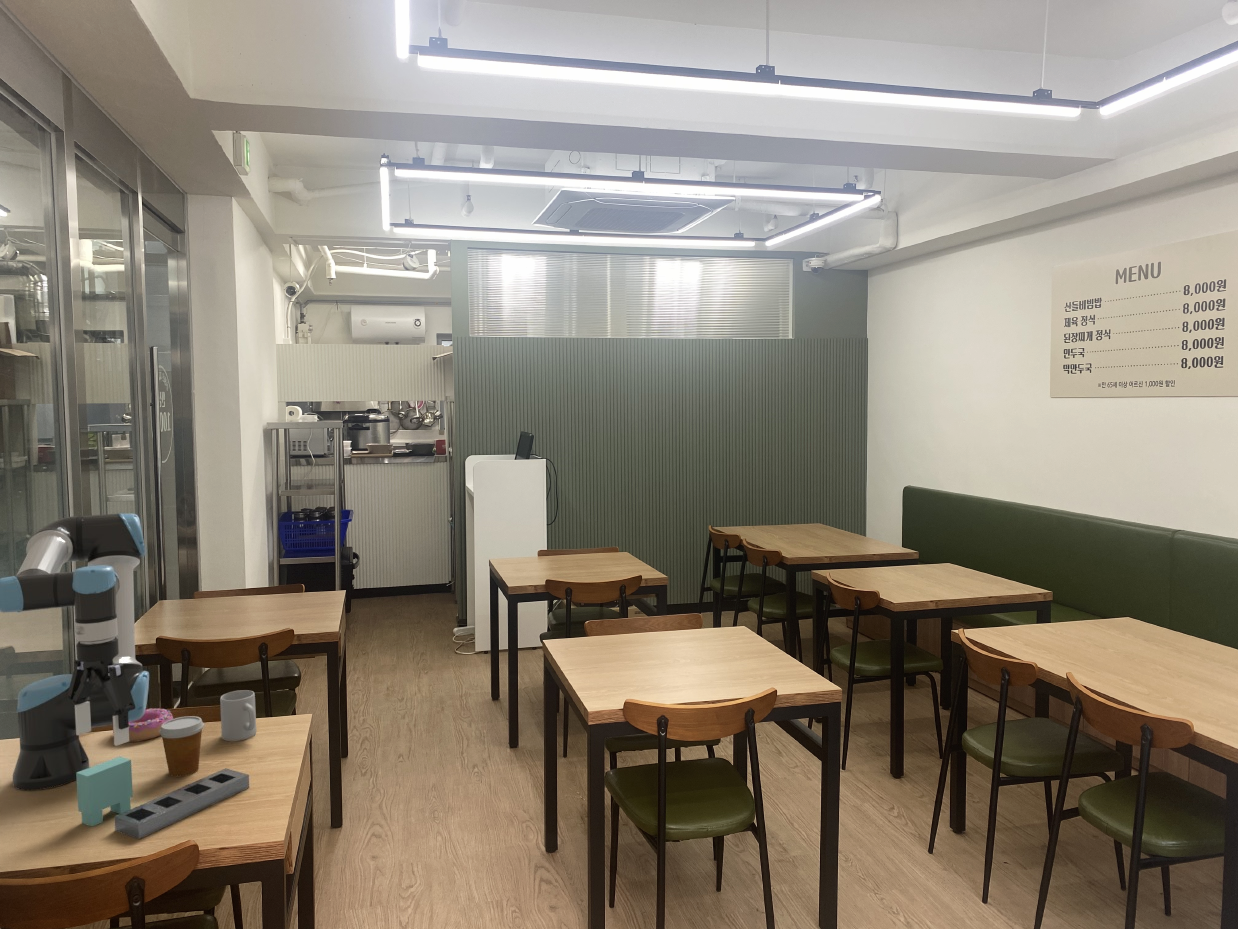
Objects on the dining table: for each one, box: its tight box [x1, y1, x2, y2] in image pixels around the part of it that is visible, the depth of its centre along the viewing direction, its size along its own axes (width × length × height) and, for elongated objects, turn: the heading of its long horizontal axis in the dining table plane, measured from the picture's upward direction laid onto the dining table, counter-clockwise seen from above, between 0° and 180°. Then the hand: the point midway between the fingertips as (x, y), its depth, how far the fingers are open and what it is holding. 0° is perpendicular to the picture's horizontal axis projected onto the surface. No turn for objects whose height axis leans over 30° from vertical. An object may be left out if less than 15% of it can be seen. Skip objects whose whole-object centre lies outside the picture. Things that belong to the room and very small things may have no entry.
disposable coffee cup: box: [159, 715, 205, 778], centre depth 200 cm, size 10×10×12 cm
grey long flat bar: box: [114, 767, 250, 840], centre depth 181 cm, size 8×26×3 cm, turn 152°
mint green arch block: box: [76, 756, 134, 827], centre depth 178 cm, size 4×9×11 cm, turn 152°
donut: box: [112, 707, 174, 743], centre depth 225 cm, size 14×14×5 cm
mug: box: [219, 689, 257, 742], centre depth 221 cm, size 12×8×11 cm
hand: (102, 738), depth 177 cm, fingers open, 13 cm apart
